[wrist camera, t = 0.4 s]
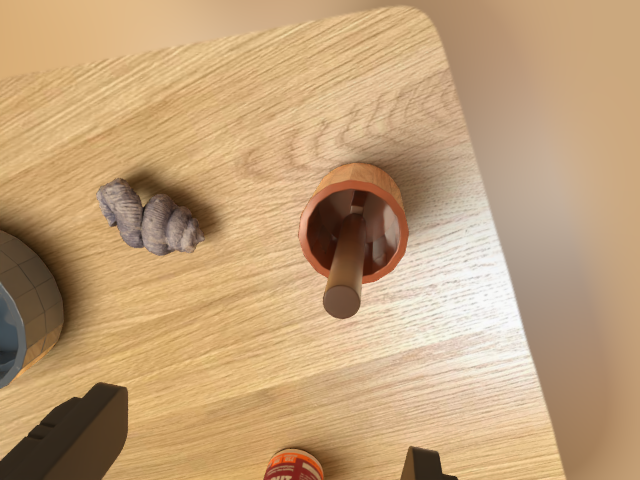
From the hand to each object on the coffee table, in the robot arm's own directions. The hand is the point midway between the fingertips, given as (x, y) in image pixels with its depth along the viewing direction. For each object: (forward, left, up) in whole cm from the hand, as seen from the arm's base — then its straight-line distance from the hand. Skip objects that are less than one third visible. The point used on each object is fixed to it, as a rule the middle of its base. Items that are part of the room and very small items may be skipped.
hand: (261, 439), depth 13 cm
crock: (0, +2, -28) cm, 28 cm away
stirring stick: (0, +2, -28) cm, 28 cm away
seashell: (+4, -16, -28) cm, 33 cm away
